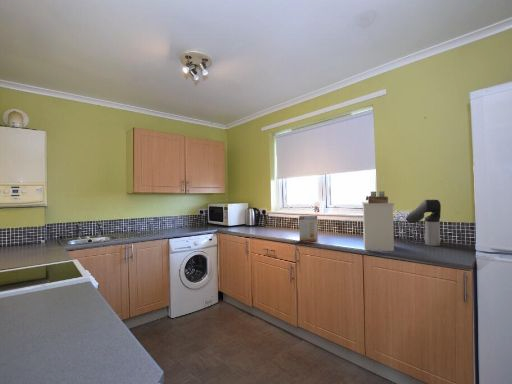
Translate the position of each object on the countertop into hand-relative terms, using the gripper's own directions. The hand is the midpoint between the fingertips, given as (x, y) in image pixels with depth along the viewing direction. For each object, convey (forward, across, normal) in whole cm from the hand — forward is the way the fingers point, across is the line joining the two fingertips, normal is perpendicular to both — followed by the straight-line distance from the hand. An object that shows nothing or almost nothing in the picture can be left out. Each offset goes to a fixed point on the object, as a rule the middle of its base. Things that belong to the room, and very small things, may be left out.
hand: (376, 197), depth 225 cm
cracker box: (+3, +44, -48) cm, 65 cm away
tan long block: (+23, +1, -8) cm, 24 cm away
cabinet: (+21, -6, -40) cm, 46 cm away
